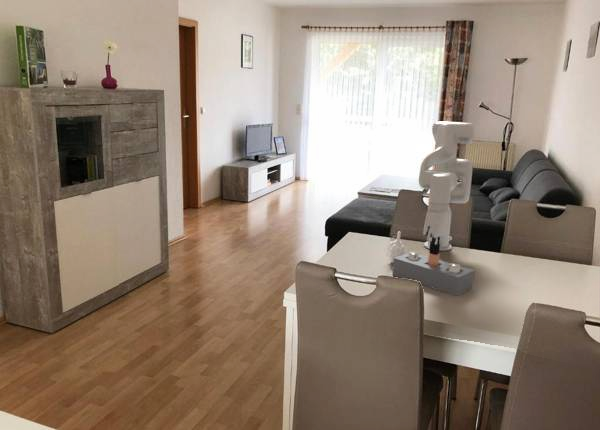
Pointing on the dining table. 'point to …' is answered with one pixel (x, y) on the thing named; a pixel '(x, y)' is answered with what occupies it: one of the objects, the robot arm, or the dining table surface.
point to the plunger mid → (433, 260)
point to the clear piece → (454, 268)
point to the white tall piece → (396, 248)
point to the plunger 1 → (413, 256)
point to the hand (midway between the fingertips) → (434, 253)
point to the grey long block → (434, 274)
